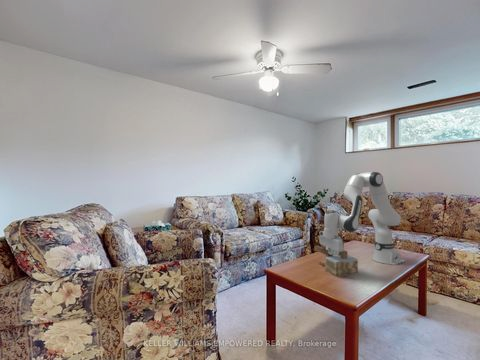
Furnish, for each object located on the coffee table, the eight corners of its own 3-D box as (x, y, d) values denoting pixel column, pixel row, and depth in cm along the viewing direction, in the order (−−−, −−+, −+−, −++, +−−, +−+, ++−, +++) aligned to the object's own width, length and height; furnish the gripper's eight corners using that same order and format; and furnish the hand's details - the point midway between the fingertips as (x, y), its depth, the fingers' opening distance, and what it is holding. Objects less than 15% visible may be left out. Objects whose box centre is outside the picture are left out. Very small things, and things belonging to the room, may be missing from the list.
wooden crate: (344, 266, 168) (344, 252, 168) (359, 273, 156) (359, 258, 156) (323, 269, 163) (323, 254, 163) (337, 277, 150) (337, 261, 150)
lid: (346, 256, 166) (346, 248, 166) (357, 260, 157) (357, 252, 157) (325, 259, 161) (325, 250, 161) (335, 263, 152) (335, 255, 152)
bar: (317, 249, 178) (317, 245, 178) (330, 255, 164) (330, 251, 163) (314, 249, 177) (314, 245, 177) (327, 256, 163) (327, 251, 163)
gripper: (345, 237, 153) (345, 258, 153) (325, 230, 172) (325, 249, 172) (338, 238, 151) (337, 260, 151) (317, 231, 170) (317, 250, 170)
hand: (330, 254), depth 162 cm, fingers closed
